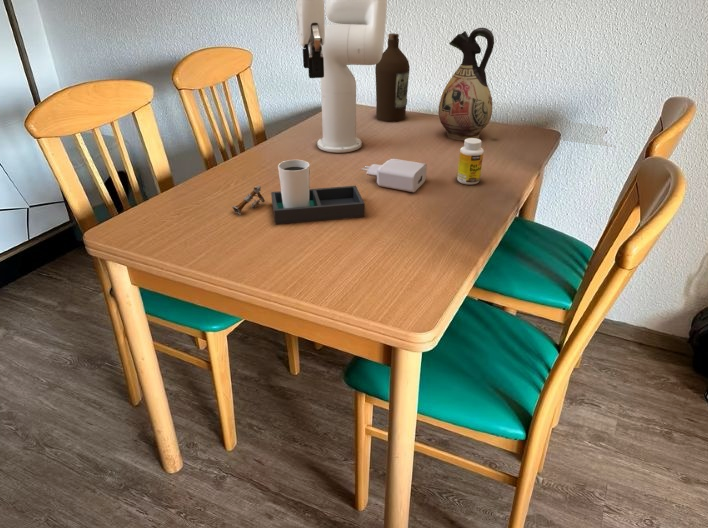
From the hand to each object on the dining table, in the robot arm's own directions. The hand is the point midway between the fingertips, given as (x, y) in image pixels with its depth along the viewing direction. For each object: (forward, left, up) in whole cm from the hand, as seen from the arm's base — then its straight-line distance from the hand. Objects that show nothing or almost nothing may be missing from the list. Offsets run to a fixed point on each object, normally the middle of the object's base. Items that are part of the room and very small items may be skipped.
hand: (313, 72), depth 125 cm
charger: (+1, +18, -26) cm, 32 cm away
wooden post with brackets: (+10, -17, -26) cm, 33 cm away
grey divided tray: (+14, -2, -26) cm, 30 cm away
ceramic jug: (-29, +48, -26) cm, 62 cm away
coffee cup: (+14, -7, -26) cm, 30 cm away
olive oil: (-52, +31, -26) cm, 66 cm away
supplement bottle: (+4, +37, -26) cm, 46 cm away
